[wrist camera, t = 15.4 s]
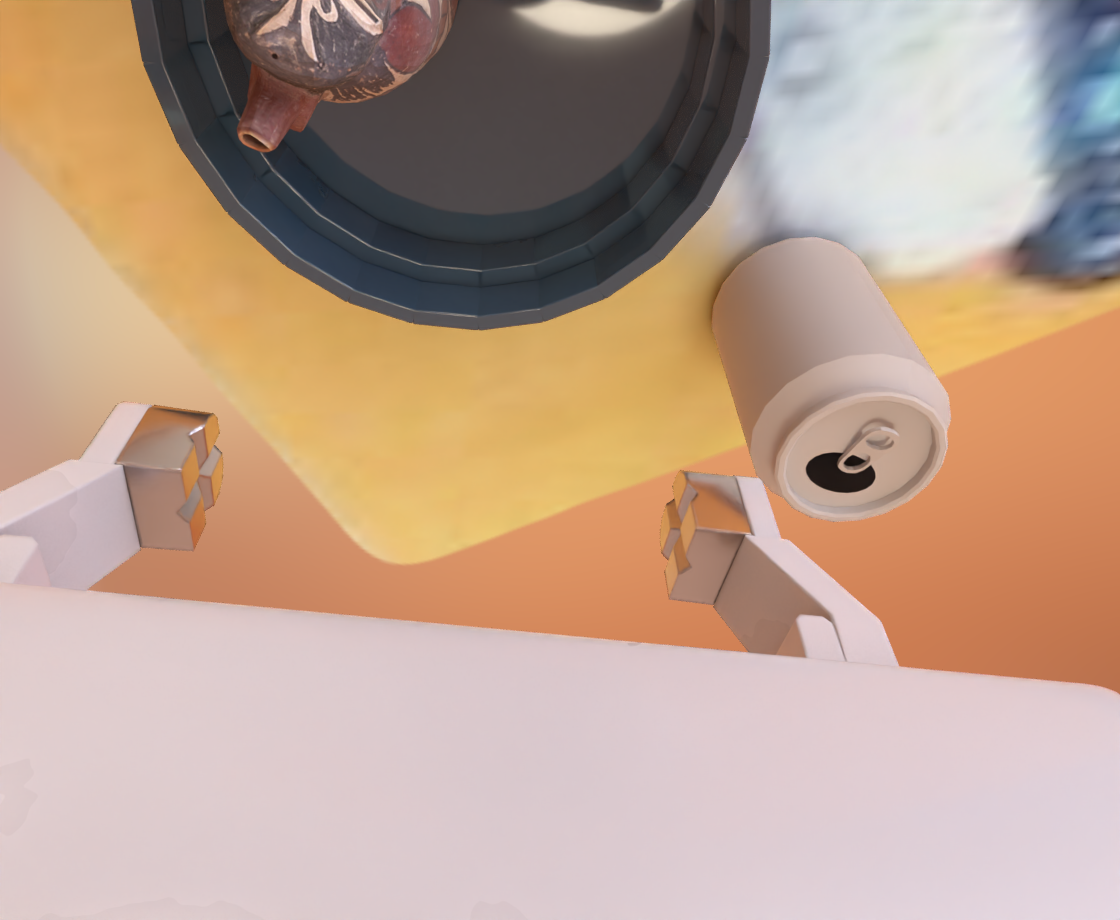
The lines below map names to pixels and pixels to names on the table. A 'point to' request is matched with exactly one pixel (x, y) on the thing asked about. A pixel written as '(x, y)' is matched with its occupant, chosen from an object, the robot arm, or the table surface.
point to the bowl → (482, 152)
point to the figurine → (327, 55)
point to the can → (828, 382)
